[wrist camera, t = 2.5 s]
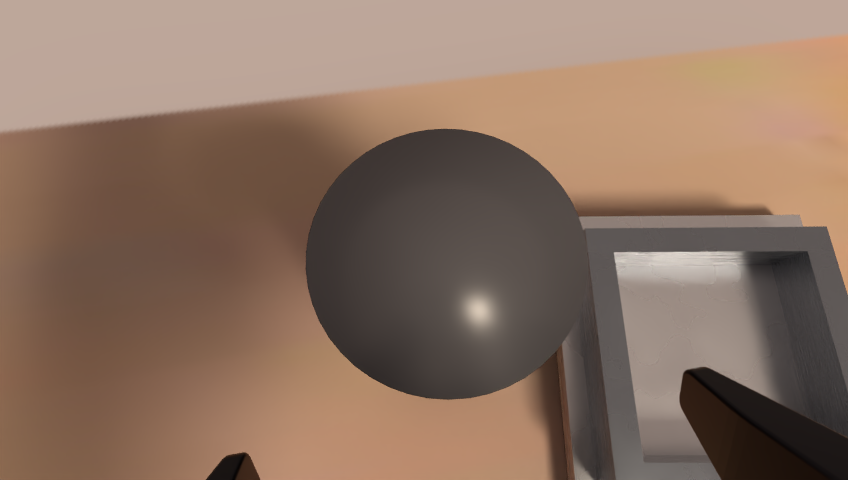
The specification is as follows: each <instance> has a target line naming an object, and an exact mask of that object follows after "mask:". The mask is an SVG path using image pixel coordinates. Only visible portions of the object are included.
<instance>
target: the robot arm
mask: <svg viewBox="0 0 848 480" xmlns="http://www.w3.org/2000/svg"><path fill="white" fill-rule="evenodd" d="M679 402H680V406H681V409H682V411H683V413H684V414H685V416H686V418H687V420H688V422H689V423H690V425H691V427H692V429H693V431H694V432H695V434H696V436H697V438H698V440H699V441H700V443H701V445H702V447H703V449H704V450H705V452H706V454H707V456H708V458H709V459H710V461H711V463H712V465H713V466H714V468H715V470H716V472H717V473H718V475H719V477H720V479H721V480H848V437H846V436H844V435H842V434H840V433H838V432H836V431H834V430H832V429H830V428H828V427H826V426H824V425H822V424H820V423H818V422H816V421H814V420H812V419H810V418H808V417H806V416H804V415H802V414H800V413H798V412H796V411H794V410H792V409H790V408H788V407H786V406H784V405H782V404H780V403H778V402H776V401H774V400H772V399H770V398H768V397H766V396H764V395H762V394H760V393H758V392H756V391H754V390H752V389H750V388H748V387H746V386H744V385H742V384H740V383H738V382H736V381H734V380H732V379H730V378H728V377H726V376H724V375H722V374H720V373H718V372H716V371H714V370H712V369H710V368H708V367H697V368H691V369H687V370H685V371H684V373H683V376H682V383H681V389H680V395H679ZM206 480H260V478H259V475H258V473H257V471H256V469H255V467H254V464H253V462H252V460H251V458H250V456H249V454H247V453H244V452H243V453H237V454H232V455H228V456H226V457H225V458H223V459H222V460H221V462H220V463H219V464H218V465H217V467H216V468H215V469H214V470H213V472H212V473H211V474H210V475H209V476H208V478H207V479H206Z"/></svg>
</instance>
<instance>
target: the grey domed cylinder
mask: <svg viewBox="0 0 848 480" xmlns="http://www.w3.org/2000/svg"><path fill="white" fill-rule="evenodd" d="M306 275H307V283H308V289H309V293H310V297H311V301H312V304H313V307H314V309H315V312H316V314H317V317H318V319H319V321H320V323H321V325H322V327H323V328H324V330H325V332H326V333H327V335H328V337H329V338H330V340H331V341H332V342H333V343H334V345H335V346H336V347H337V348H338V350H339V351H340V352H341V353H342V354H343V355H344V356H345V357H346V358H347V359H348V360H349V361H350V362H351V363H352V364H353V365H354V366H356V367H357V368H358V369H360V370H361V371H362V372H364V373H365V374H367V375H368V376H369V377H371V378H373V379H375V380H376V381H378V382H380V383H382V384H384V385H386V386H388V387H390V388H393V389H396V390H398V391H401V392H404V393H407V394H411V395H415V396H420V397H425V398H433V399H447V400H449V399H464V398H472V397H476V396H481V395H486V394H490V393H493V392H495V391H498V390H501V389H504V388H506V387H509V386H510V385H512V384H514V383H516V382H518V381H520V380H522V379H524V378H525V377H527V376H528V375H529V374H531V373H532V372H534V371H535V370H536V369H538V368H539V367H540V366H542V365H543V364H544V363H545V362H546V361H547V360H548V359H549V358H550V357H551V356H552V355H553V354H554V353H555V352H556V350H557V349H558V348H559V346H560V345H561V344H562V343H563V341H564V340H565V339H566V337H567V336H568V334H569V332H570V330H571V328H572V327H573V325H574V323H575V321H576V319H577V316H578V314H579V311H580V309H581V306H582V303H583V299H584V295H585V290H586V286H587V275H588V255H587V246H586V241H585V235H584V231H583V228H582V225H581V222H580V219H579V216H578V214H577V212H576V210H575V208H574V206H573V204H572V202H571V200H570V198H569V197H568V195H567V194H566V192H565V191H564V189H563V188H562V186H561V185H560V184H559V183H558V181H557V180H556V179H555V178H554V177H553V175H552V174H551V173H550V172H549V171H548V170H547V169H546V168H544V167H543V166H542V165H541V164H540V163H539V162H538V161H537V160H535V159H534V158H532V157H531V156H530V155H528V154H527V153H525V152H524V151H522V150H520V149H519V148H517V147H515V146H513V145H511V144H510V143H507V142H505V141H502V140H500V139H498V138H495V137H492V136H489V135H485V134H482V133H478V132H473V131H466V130H459V129H434V130H424V131H419V132H414V133H409V134H406V135H403V136H399V137H396V138H393V139H391V140H389V141H387V142H384V143H382V144H380V145H378V146H376V147H375V148H373V149H371V150H370V151H368V152H366V153H365V154H363V155H362V156H361V157H359V158H358V159H357V160H355V161H354V162H353V163H352V164H351V165H350V166H349V167H347V168H346V169H345V170H344V171H343V172H342V173H341V174H340V175H339V177H338V178H337V179H336V180H335V182H334V183H333V184H332V185H331V187H330V188H329V190H328V191H327V193H326V194H325V196H324V198H323V199H322V201H321V203H320V205H319V207H318V209H317V212H316V214H315V216H314V219H313V222H312V226H311V229H310V232H309V237H308V243H307V250H306Z"/></svg>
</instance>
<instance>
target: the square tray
mask: <svg viewBox="0 0 848 480" xmlns="http://www.w3.org/2000/svg"><path fill="white" fill-rule="evenodd" d="M579 219H580V222H581V225H582V228H583V231H584V235H585V241H586V246H587V255H588V275H587V286H586V290H585V295H584V299H583V303H582V306H581V309H580V311H579V314H578V316H577V319H576V321H575V323H574V325H573V327H572V328H571V330H570V332H569V334H568V336H567V337H566V339H565V340H564V341H563V343H562V344H561V345H560V346H559V348H558V349H557V350H556V354H557V365H558V376H559V387H560V397H561V408H562V419H563V430H564V441H565V452H566V463H567V474H568V480H721V479H720V477H719V475H718V473H717V472H716V470H715V468H714V466H713V465H712V463H711V461H710V459H709V458H708V456H707V454H706V452H705V450H704V449H703V447H702V445H701V443H700V441H699V440H698V438H697V436H696V434H695V432H694V431H693V429H692V427H691V425H690V423H689V422H688V420H687V418H686V416H685V414H684V413H683V411H682V409H681V406H680V402H679V395H680V389H681V383H682V376H683V373H684V371H685V370H687V369H691V368H697V367H708V368H710V369H712V370H714V371H716V372H718V373H720V374H722V375H724V376H726V377H728V378H730V379H732V380H734V381H736V382H738V383H740V384H742V385H744V386H746V387H748V388H750V389H752V390H754V391H756V392H758V393H760V394H762V395H764V396H766V397H768V398H770V399H772V400H774V401H776V402H778V403H780V404H782V405H784V406H786V407H788V408H790V409H792V410H794V411H796V412H798V413H800V414H802V415H804V416H806V417H808V418H810V419H812V420H814V421H816V422H818V423H820V424H822V425H824V426H826V427H828V428H830V429H832V430H834V431H836V432H838V433H840V434H842V435H844V436H846V437H848V295H847V292H846V288H845V285H844V282H843V279H842V275H841V272H840V269H839V266H838V262H837V259H836V256H835V252H834V249H833V246H832V243H831V239H830V236H829V233H828V230H827V227H803V225H802V221H801V218H800V215H713V216H587V217H579Z"/></svg>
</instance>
